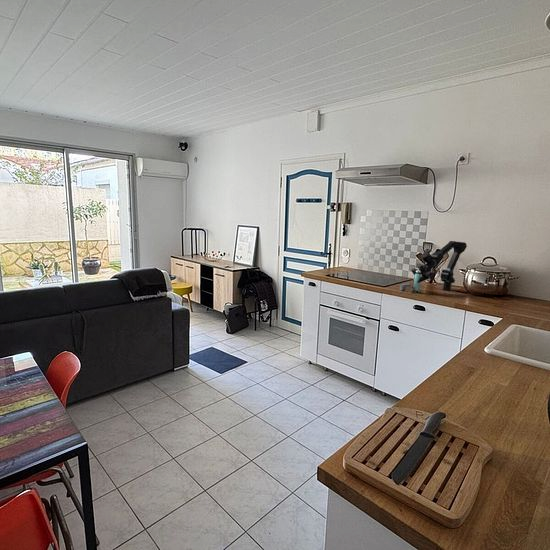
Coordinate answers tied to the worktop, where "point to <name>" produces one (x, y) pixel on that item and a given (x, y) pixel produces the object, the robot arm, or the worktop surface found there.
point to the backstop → (402, 286)
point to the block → (410, 289)
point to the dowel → (416, 285)
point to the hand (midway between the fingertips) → (415, 282)
